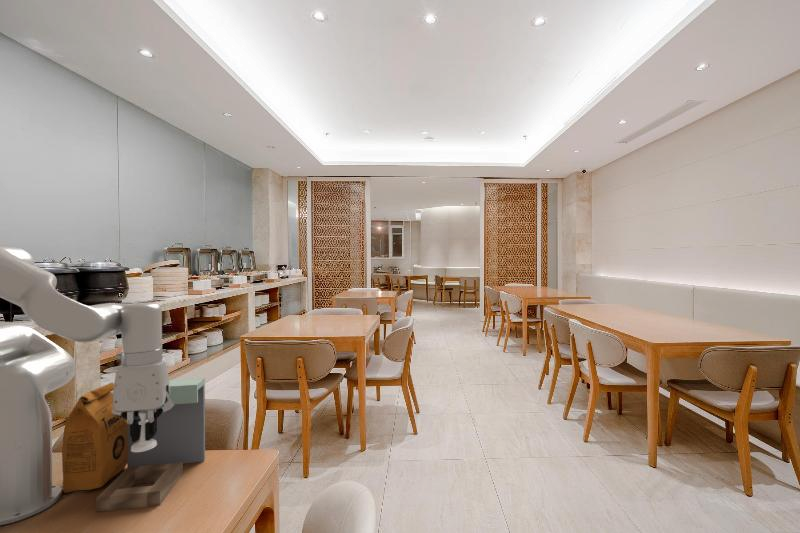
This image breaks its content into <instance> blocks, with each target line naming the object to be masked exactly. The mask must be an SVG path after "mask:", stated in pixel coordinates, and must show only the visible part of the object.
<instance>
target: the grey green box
mask: <svg viewBox="0 0 800 533" xmlns="http://www.w3.org/2000/svg"><path fill="white" fill-rule="evenodd" d="M205 380H206V379H205V378H204V377H203V378H188V379H186V378H185V379H169V382H170V398H171V400H172V402H173V404H174V407H173V408H171V409H170V410H168V411H166V412H163V413H162V414H161V415H160V416H159V417H158V418H157V433H156V434H155V436H154V437H153V438H151V439H155V440H156V441H157V445H156V446H155V447H154V448H152V449H150V450H147V451H144V452H131V446H132V445H133V444H135V443H136V442H138V440H139V439H140V438H139V439H138V440H137V441H135V442H132V437H131V436H130V424H128V423H127V465H126V466H127V467H126V469H127V468H128V467H135V466H146V465H157V464H167V463H178V462H183V464H191V463H192V464H193V463H202V462H205V461H206V402H205V401H206V400H205V399H206V398H205V397H206V388H205V387H206V385H205V384H206V381H205ZM162 406H164V405H162ZM139 412H140V411H139ZM139 418H140V416H139ZM146 420H148V416H147V419H146Z"/></svg>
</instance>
